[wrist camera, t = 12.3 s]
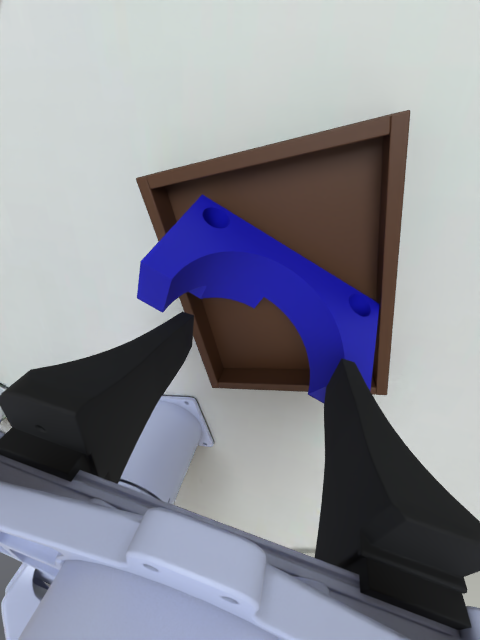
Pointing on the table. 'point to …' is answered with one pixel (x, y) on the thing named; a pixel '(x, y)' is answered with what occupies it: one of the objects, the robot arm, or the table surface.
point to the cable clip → (262, 286)
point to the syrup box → (0, 414)
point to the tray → (296, 239)
